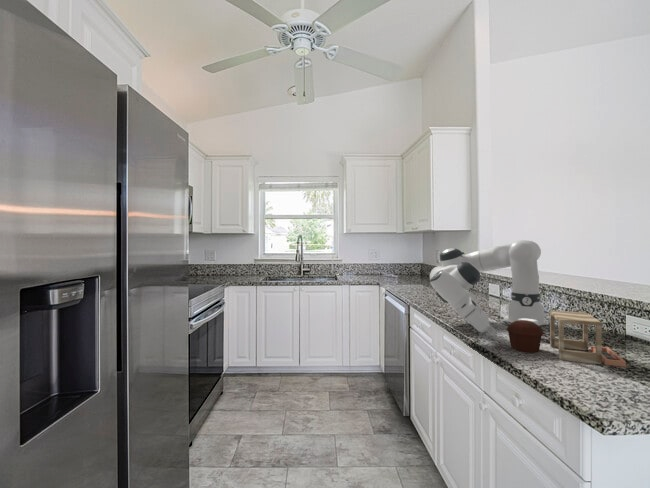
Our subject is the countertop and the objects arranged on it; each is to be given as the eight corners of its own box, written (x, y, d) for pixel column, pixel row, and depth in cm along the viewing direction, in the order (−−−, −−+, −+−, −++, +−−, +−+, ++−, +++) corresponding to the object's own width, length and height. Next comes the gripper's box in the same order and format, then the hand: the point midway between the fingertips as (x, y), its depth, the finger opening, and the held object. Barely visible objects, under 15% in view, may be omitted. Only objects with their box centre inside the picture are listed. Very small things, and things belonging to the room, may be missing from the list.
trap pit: (590, 350, 122) (590, 345, 122) (608, 351, 120) (608, 347, 120) (605, 364, 107) (605, 359, 107) (625, 366, 105) (625, 361, 105)
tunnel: (550, 345, 127) (550, 310, 127) (586, 349, 123) (586, 312, 123) (559, 359, 112) (559, 319, 112) (601, 364, 108) (601, 322, 108)
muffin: (530, 344, 129) (530, 317, 129) (551, 353, 118) (551, 324, 118) (499, 345, 129) (499, 318, 129) (518, 354, 118) (518, 325, 118)
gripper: (461, 306, 141) (488, 333, 137) (458, 316, 123) (489, 347, 119) (473, 296, 140) (500, 322, 136) (472, 304, 121) (503, 335, 117)
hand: (495, 334), depth 127 cm, fingers closed
